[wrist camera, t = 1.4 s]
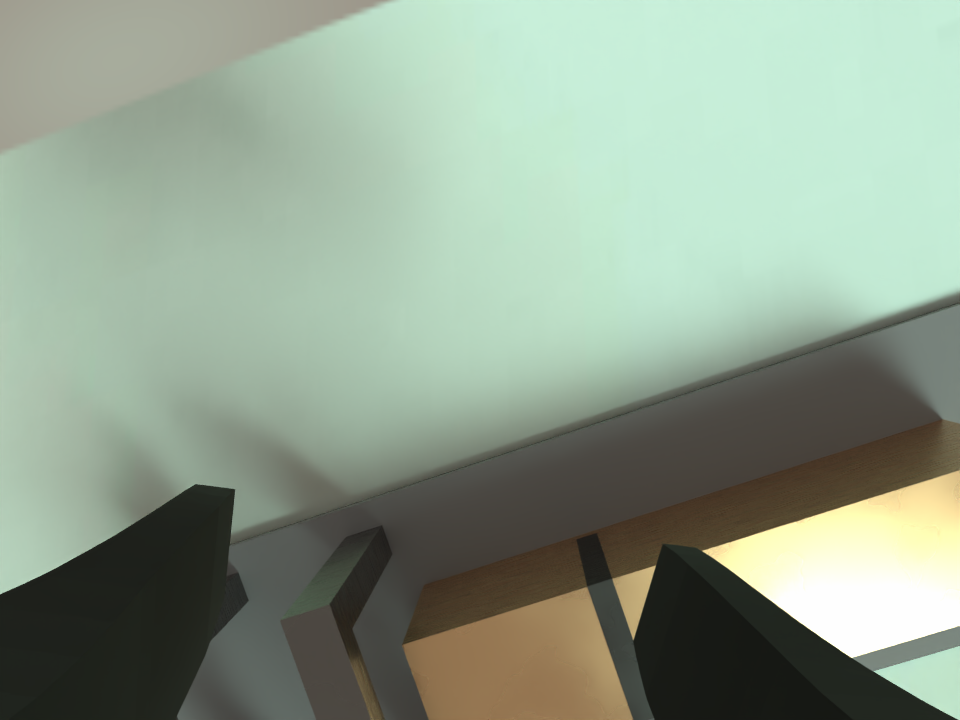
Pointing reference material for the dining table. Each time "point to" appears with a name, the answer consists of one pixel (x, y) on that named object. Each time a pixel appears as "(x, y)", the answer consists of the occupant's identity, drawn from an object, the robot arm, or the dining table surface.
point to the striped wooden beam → (728, 539)
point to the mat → (575, 504)
